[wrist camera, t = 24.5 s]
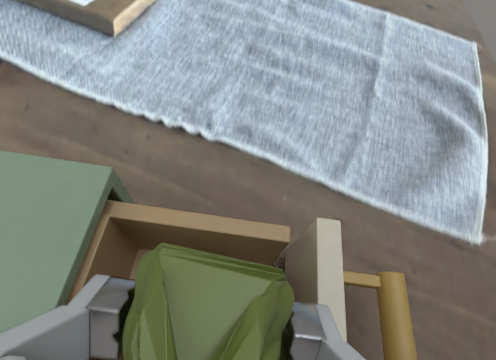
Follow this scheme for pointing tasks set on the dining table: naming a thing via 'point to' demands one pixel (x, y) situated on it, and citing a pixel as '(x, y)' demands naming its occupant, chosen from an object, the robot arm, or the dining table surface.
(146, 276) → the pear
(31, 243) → the cabinet
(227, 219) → the drawer
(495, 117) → the dining table surface
